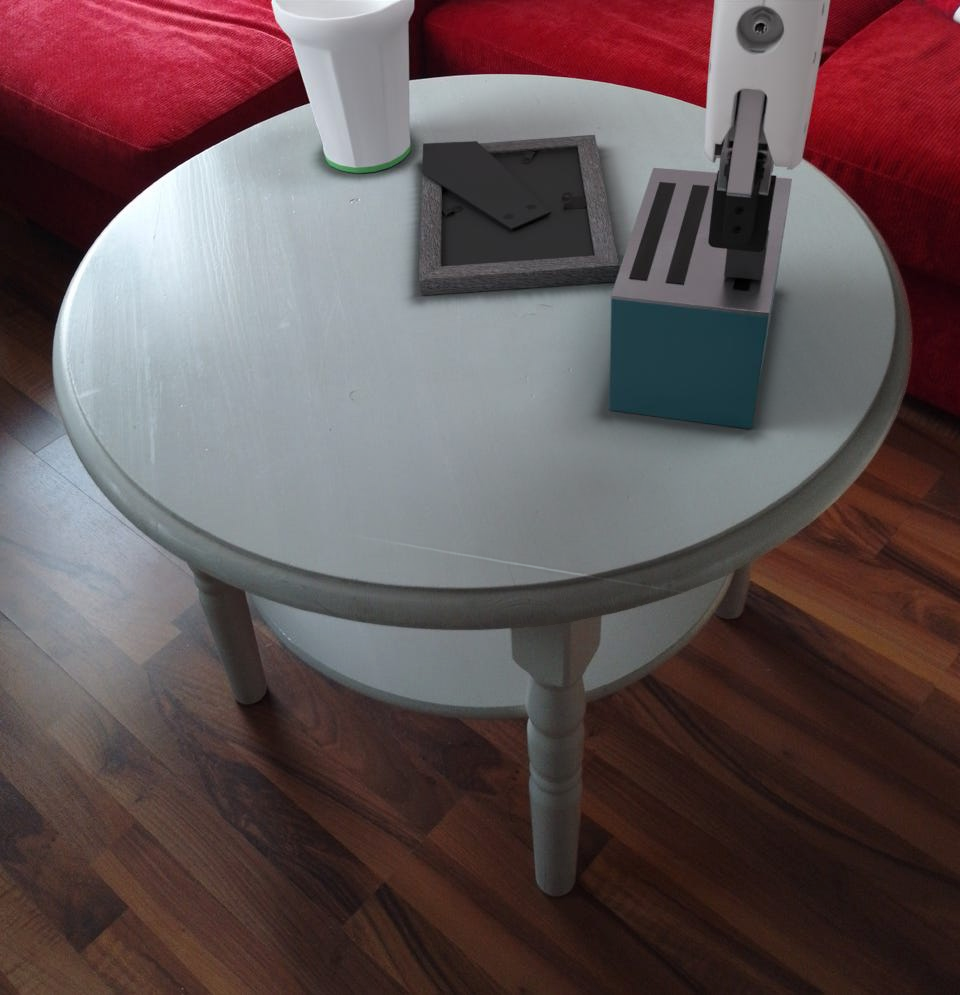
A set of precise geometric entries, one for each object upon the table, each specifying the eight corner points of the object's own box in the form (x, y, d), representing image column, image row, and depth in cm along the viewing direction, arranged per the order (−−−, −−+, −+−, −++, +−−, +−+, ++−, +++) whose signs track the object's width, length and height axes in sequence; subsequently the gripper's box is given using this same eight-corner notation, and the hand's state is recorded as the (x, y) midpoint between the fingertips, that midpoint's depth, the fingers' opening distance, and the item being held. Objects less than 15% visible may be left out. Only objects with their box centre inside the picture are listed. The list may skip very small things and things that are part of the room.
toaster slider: (764, 262, 71) (769, 229, 69) (761, 280, 70) (766, 247, 68) (727, 259, 72) (731, 226, 70) (723, 276, 71) (727, 243, 69)
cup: (355, 109, 111) (329, -48, 100) (456, 135, 106) (441, -28, 95) (277, 166, 105) (241, 5, 94) (382, 197, 99) (356, 30, 88)
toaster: (774, 292, 86) (792, 177, 78) (751, 429, 75) (769, 311, 68) (648, 279, 88) (653, 166, 81) (608, 410, 78) (610, 294, 70)
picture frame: (425, 162, 103) (421, 295, 89) (423, 143, 102) (418, 275, 87) (594, 150, 102) (618, 281, 88) (595, 130, 101) (618, 260, 87)
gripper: (860, -30, 44) (792, 330, 57) (875, -155, 53) (814, 179, 67) (673, -39, 46) (650, 313, 59) (720, -158, 55) (691, 168, 69)
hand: (737, 241), depth 63 cm, fingers closed
